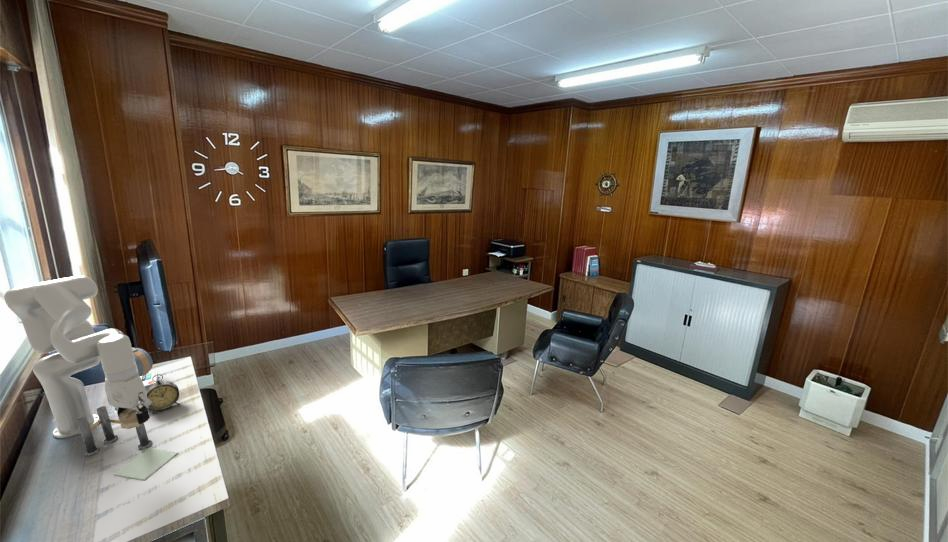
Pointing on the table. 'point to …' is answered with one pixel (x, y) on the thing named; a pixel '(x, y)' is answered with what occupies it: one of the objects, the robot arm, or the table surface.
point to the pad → (146, 464)
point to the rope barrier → (107, 432)
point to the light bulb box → (149, 380)
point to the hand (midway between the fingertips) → (135, 419)
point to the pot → (129, 418)
